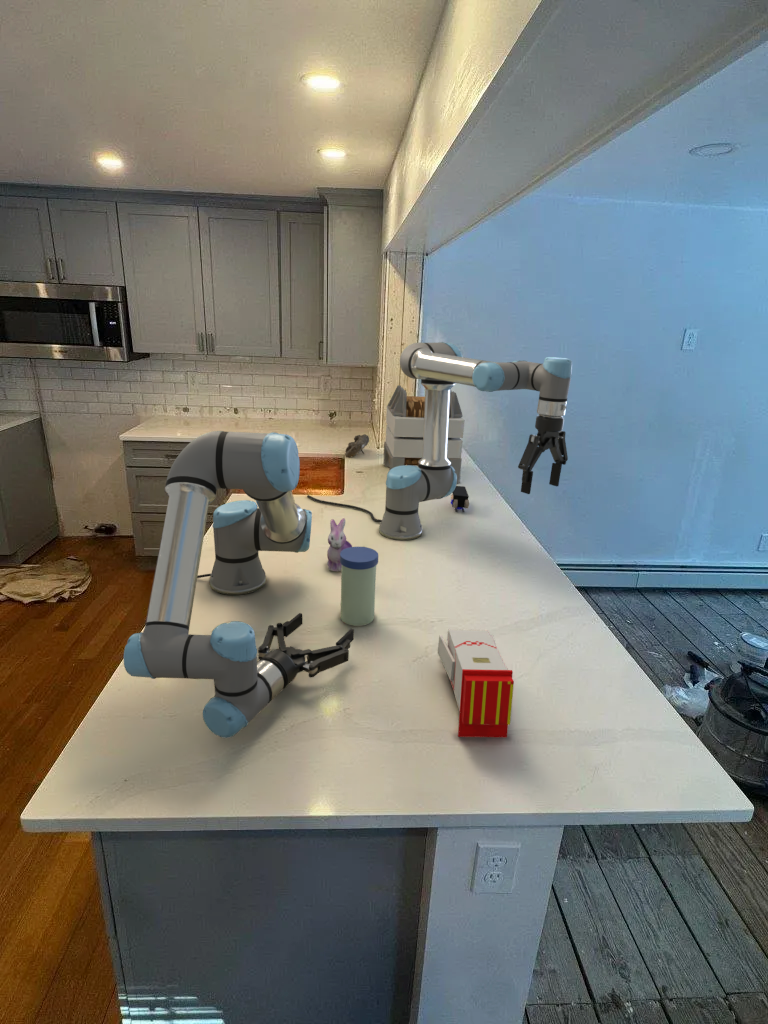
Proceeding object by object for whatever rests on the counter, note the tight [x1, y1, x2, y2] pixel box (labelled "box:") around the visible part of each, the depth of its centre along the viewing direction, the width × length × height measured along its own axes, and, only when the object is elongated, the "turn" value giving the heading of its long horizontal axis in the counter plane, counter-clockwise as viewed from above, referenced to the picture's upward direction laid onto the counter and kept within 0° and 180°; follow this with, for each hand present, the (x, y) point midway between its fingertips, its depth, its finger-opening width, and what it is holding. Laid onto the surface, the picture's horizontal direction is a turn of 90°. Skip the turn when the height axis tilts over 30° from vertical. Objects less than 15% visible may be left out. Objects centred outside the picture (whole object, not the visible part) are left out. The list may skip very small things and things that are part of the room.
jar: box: [340, 565, 377, 627], centre depth 142 cm, size 9×9×17 cm
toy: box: [437, 628, 515, 738], centre depth 117 cm, size 12×13×30 cm
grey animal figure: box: [344, 433, 370, 458], centre depth 304 cm, size 22×10×15 cm
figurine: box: [326, 517, 353, 572], centre depth 171 cm, size 9×10×15 cm
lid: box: [340, 546, 379, 570], centre depth 140 cm, size 9×9×2 cm
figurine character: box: [450, 485, 470, 513], centre depth 227 cm, size 7×8×15 cm
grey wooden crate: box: [383, 384, 465, 484], centre depth 268 cm, size 34×33×41 cm
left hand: (326, 626), depth 129 cm, fingers open, 13 cm apart
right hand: (539, 489), depth 164 cm, fingers open, 13 cm apart
